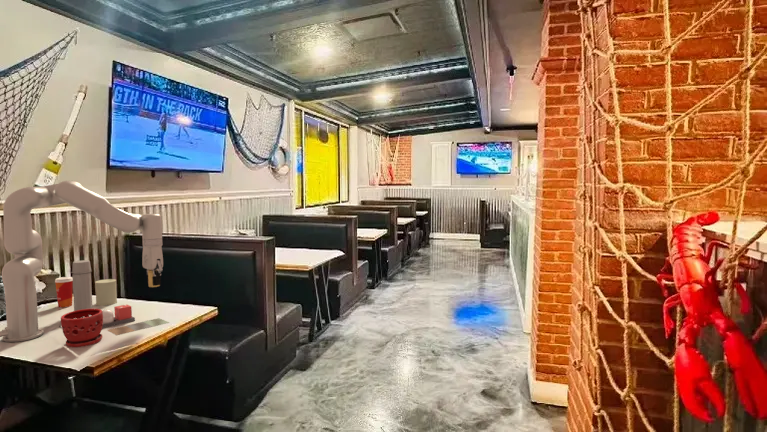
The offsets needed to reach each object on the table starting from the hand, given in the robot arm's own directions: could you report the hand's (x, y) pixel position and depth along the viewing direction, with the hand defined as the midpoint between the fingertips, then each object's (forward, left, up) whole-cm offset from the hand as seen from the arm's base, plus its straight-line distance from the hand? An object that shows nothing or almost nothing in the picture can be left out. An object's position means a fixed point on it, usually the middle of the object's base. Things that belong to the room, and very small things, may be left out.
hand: (154, 283), depth 190 cm
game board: (-7, 0, -18) cm, 19 cm away
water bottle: (-15, +40, -18) cm, 46 cm away
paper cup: (-16, +63, -18) cm, 67 cm away
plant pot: (-28, -4, -18) cm, 34 cm away
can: (-1, +53, -18) cm, 56 cm away
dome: (-15, +13, -17) cm, 26 cm away
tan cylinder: (0, 0, -1) cm, 1 cm away
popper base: (-12, +13, -18) cm, 25 cm away
